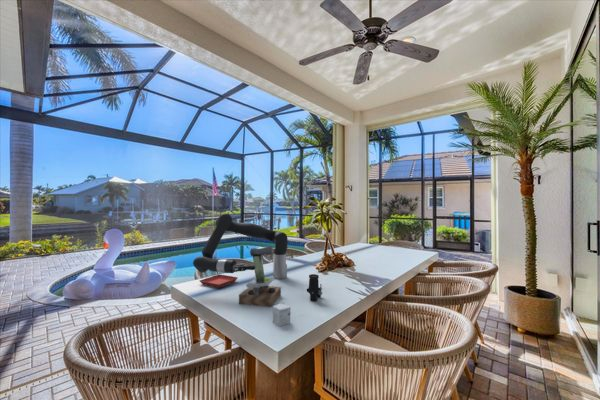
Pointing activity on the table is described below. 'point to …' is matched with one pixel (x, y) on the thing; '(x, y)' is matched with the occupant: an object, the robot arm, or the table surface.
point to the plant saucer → (218, 280)
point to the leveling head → (260, 267)
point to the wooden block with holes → (260, 296)
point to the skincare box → (281, 314)
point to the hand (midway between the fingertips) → (254, 267)
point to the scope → (314, 288)
